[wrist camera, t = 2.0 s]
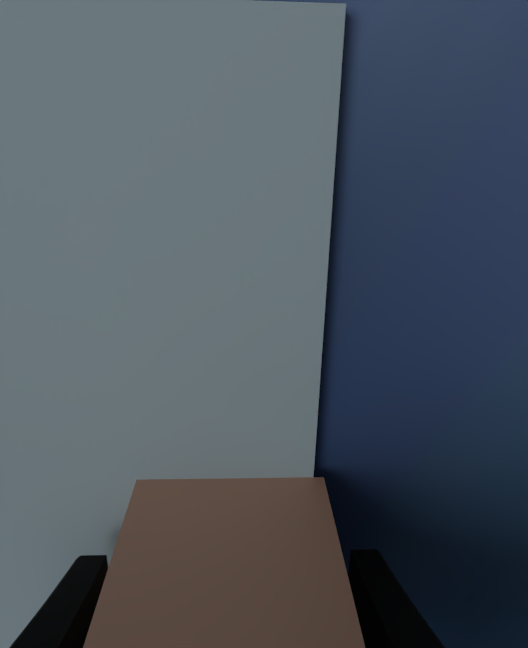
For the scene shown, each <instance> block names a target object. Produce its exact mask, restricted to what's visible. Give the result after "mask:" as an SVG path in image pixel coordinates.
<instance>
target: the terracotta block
mask: <svg viewBox="0 0 528 648" xmlns="http://www.w3.org/2000/svg"><path fill="white" fill-rule="evenodd" d="M83 648H365V644H364V640H363V636H362V632H361V628H360V624H359V620H358V615H357V611H356V607H355V603H354V599H353V595H352V591H351V587H350V583H349V579H348V574H347V570H346V566H345V562H344V558H343V554H342V550H341V546H340V542H339V538H338V534H337V529H336V525H335V521H334V517H333V513H332V509H331V505H330V501H329V497H328V493H327V488H326V484H325V480H324V477H297V478H222V479H147V480H136V483H135V486H134V489H133V492H132V495H131V498H130V501H129V505H128V508H127V511H126V514H125V517H124V520H123V523H122V527H121V530H120V533H119V536H118V539H117V542H116V545H115V549H114V552H113V555H112V558H111V561H110V564H109V567H108V571H107V574H106V577H105V580H104V583H103V586H102V589H101V593H100V596H99V599H98V602H97V605H96V608H95V611H94V614H93V618H92V621H91V624H90V627H89V630H88V633H87V636H86V640H85V643H84V646H83Z"/></svg>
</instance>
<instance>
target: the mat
mask: <svg viewBox="0 0 528 648" xmlns="http://www.w3.org/2000/svg"><path fill="white" fill-rule="evenodd" d="M345 12H346V4H341V3H311V2H282V1H252V0H0V648H9V647H10V646H11V645H12V644H13V642H14V641H15V640H16V639H17V637H18V636H19V635H20V633H21V632H22V631H23V630H24V628H25V627H26V626H27V625H28V623H29V622H30V621H31V620H32V618H33V617H34V616H35V614H36V613H37V612H38V611H39V609H40V608H41V607H42V605H43V604H44V603H45V601H46V600H47V599H48V597H49V596H50V595H51V593H52V592H53V590H54V589H55V588H56V586H57V585H58V584H59V582H60V581H61V579H62V578H63V577H64V575H65V574H66V573H67V571H68V570H69V568H70V567H71V565H72V564H73V563H74V561H75V560H76V559H77V558H78V557H79V556H80V555H107V562H108V567H109V564H110V561H111V558H112V555H113V552H114V549H115V545H116V542H117V539H118V536H119V533H120V530H121V527H122V523H123V520H124V517H125V514H126V511H127V508H128V505H129V501H130V498H131V495H132V492H133V489H134V486H135V483H136V480H147V479H222V478H297V477H314V463H315V448H316V434H317V419H318V405H319V390H320V376H321V361H322V347H323V332H324V318H325V303H326V289H327V274H328V259H329V245H330V230H331V216H332V201H333V187H334V172H335V158H336V143H337V129H338V114H339V100H340V85H341V70H342V56H343V41H344V27H345Z"/></svg>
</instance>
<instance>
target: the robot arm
mask: <svg viewBox="0 0 528 648" xmlns="http://www.w3.org/2000/svg"><path fill="white" fill-rule="evenodd" d="M107 571H108V562H107V555H80V556H79V557H78V558H77V559H76V560H75V561H74V563H73V564H72V565H71V567H70V568H69V570H68V571H67V573H66V574H65V575H64V577H63V578H62V579H61V581H60V582H59V584H58V585H57V586H56V588H55V589H54V590H53V592H52V593H51V595H50V596H49V597H48V599H47V600H46V601H45V603H44V604H43V605H42V607H41V608H40V609H39V611H38V612H37V613H36V614H35V616H34V617H33V618H32V620H31V621H30V622H29V623H28V625H27V626H26V627H25V628H24V630H23V631H22V632H21V633H20V635H19V636H18V637H17V639H16V640H15V641H14V642H13V644H12V645H11V646H10V647H9V648H83V646H84V643H85V640H86V636H87V633H88V630H89V627H90V624H91V621H92V618H93V614H94V611H95V608H96V605H97V602H98V599H99V596H100V593H101V589H102V586H103V583H104V580H105V577H106V574H107ZM348 579H349V583H350V587H351V591H352V595H353V599H354V603H355V607H356V611H357V615H358V620H359V624H360V628H361V632H362V636H363V640H364V644H365V648H445V647H444V646H443V645H442V643H441V642H440V641H439V639H438V638H437V636H436V635H435V634H434V632H433V631H432V630H431V628H430V627H429V626H428V624H427V623H426V621H425V620H424V619H423V617H422V616H421V615H420V613H419V612H418V610H417V609H416V607H415V606H414V605H413V603H412V602H411V600H410V599H409V597H408V596H407V594H406V593H405V591H404V590H403V588H402V587H401V585H400V584H399V582H398V581H397V579H396V578H395V576H394V574H393V573H392V571H391V570H390V568H389V567H388V565H387V563H386V562H385V560H384V558H383V557H382V555H381V554H380V552H379V551H378V550H376V549H370V550H351V555H350V564H349V573H348Z"/></svg>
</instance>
